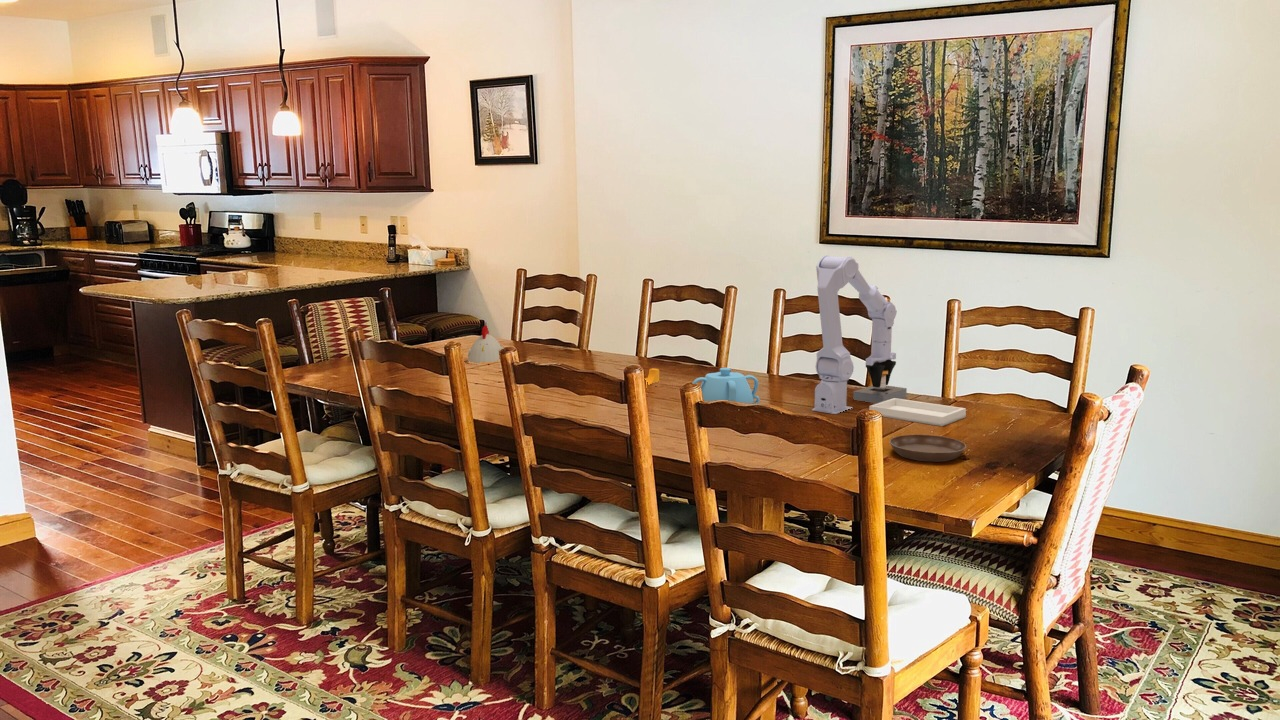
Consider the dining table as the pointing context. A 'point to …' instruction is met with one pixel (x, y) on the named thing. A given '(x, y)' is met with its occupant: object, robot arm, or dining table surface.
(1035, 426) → the dining table surface
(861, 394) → the block
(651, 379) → the pipe clamp
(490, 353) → the kitchen timer
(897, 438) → the plant saucer
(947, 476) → the dining table surface
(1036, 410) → the dining table surface
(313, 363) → the dining table surface
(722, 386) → the decorative pot
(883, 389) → the gold capped clear cylinder
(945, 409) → the tray
